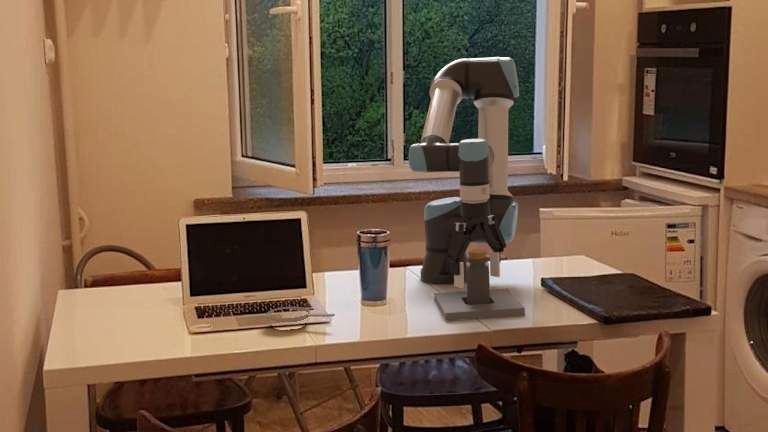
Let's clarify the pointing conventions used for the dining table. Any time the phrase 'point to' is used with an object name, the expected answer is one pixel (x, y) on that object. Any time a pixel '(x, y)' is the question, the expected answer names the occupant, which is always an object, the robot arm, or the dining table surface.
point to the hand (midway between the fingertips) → (477, 281)
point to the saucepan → (296, 317)
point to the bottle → (477, 278)
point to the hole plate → (478, 305)
